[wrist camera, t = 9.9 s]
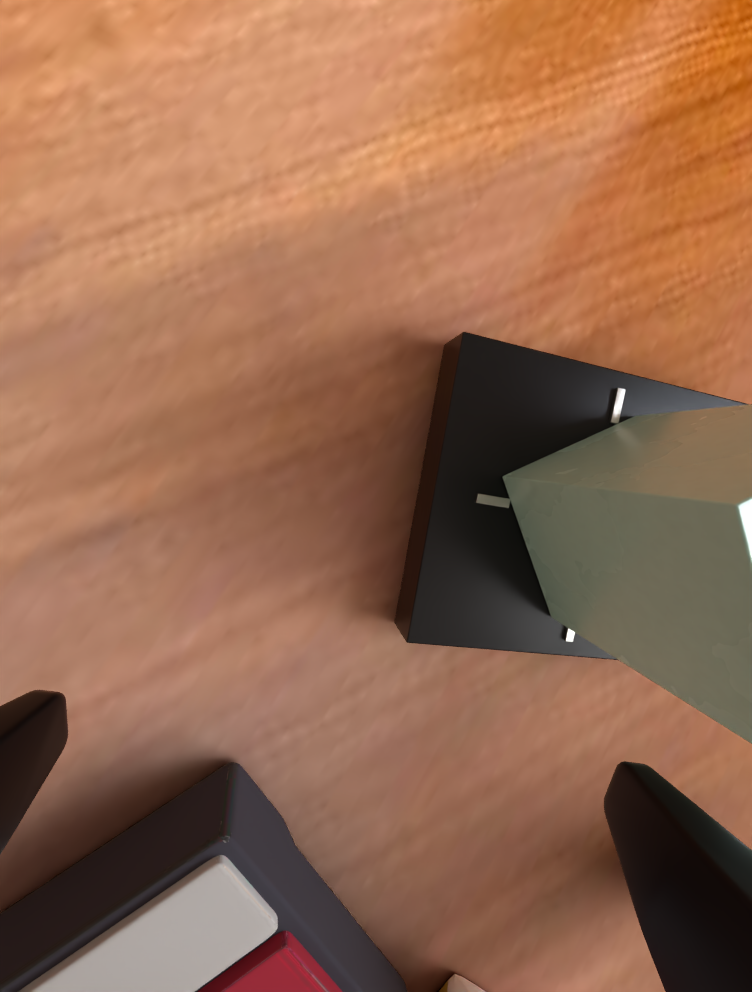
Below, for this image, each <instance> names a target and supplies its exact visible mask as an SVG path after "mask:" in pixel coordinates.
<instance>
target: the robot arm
mask: <svg viewBox="0 0 752 992" xmlns="http://www.w3.org/2000/svg"><path fill="white" fill-rule="evenodd" d="M67 737H68V724H67V710H66V699H65V696H64V695H63V694H62V693H60V692H54V691H45V690H34V691H31V692H29V693H26V694H24V695H22V696H20V697H18V698H16V699H14V700H12V701H10V702H8V703H6V704H4V705H2V706H0V854H1V852H2V851H3V849H4V848H5V846H6V844H7V843H8V841H9V839H10V838H11V836H12V834H13V833H14V831H15V829H16V828H17V826H18V824H19V823H20V821H21V819H22V818H23V816H24V814H25V813H26V811H27V809H28V808H29V806H30V804H31V803H32V801H33V799H34V798H35V796H36V794H37V793H38V791H39V789H40V788H41V786H42V784H43V783H44V781H45V779H46V778H47V776H48V774H49V773H50V771H51V769H52V768H53V766H54V764H55V763H56V761H57V759H58V758H59V756H60V754H61V753H62V751H63V749H64V747H65V744H66V741H67ZM604 810H605V815H606V819H607V822H608V825H609V828H610V832H611V835H612V838H613V841H614V844H615V848H616V851H617V854H618V857H619V860H620V864H621V867H622V870H623V873H624V876H625V880H626V883H627V886H628V889H629V892H630V895H631V899H632V902H633V905H634V908H635V911H636V914H637V917H638V920H639V923H640V926H641V929H642V932H643V935H644V937H645V940H646V943H647V945H648V948H649V951H650V953H651V956H652V958H653V961H654V963H655V966H656V968H657V971H658V974H659V976H660V979H661V981H662V984H663V986H664V989H665V991H666V992H752V850H751V849H749V848H748V847H747V846H746V845H744V844H743V843H742V842H741V841H740V840H738V839H737V838H736V837H735V836H734V835H732V834H731V833H730V832H729V831H727V830H726V829H725V828H724V827H723V826H721V825H720V824H719V823H718V822H716V821H715V820H714V819H713V818H712V817H710V816H709V815H708V814H707V813H705V812H704V811H703V810H702V809H701V808H699V807H698V806H697V805H696V804H695V803H693V802H692V801H691V800H690V799H688V798H687V797H686V796H685V795H684V794H682V793H681V792H680V791H679V790H677V789H676V788H675V787H674V786H673V785H671V784H670V783H669V782H668V781H667V780H665V779H664V778H663V777H662V776H660V775H659V774H658V773H657V772H656V771H654V770H653V769H652V768H650V767H649V766H647V765H645V764H640V763H632V762H621V763H619V764H618V765H617V767H616V769H615V772H614V774H613V777H612V779H611V782H610V784H609V787H608V789H607V792H606V794H605V798H604Z"/></svg>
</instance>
